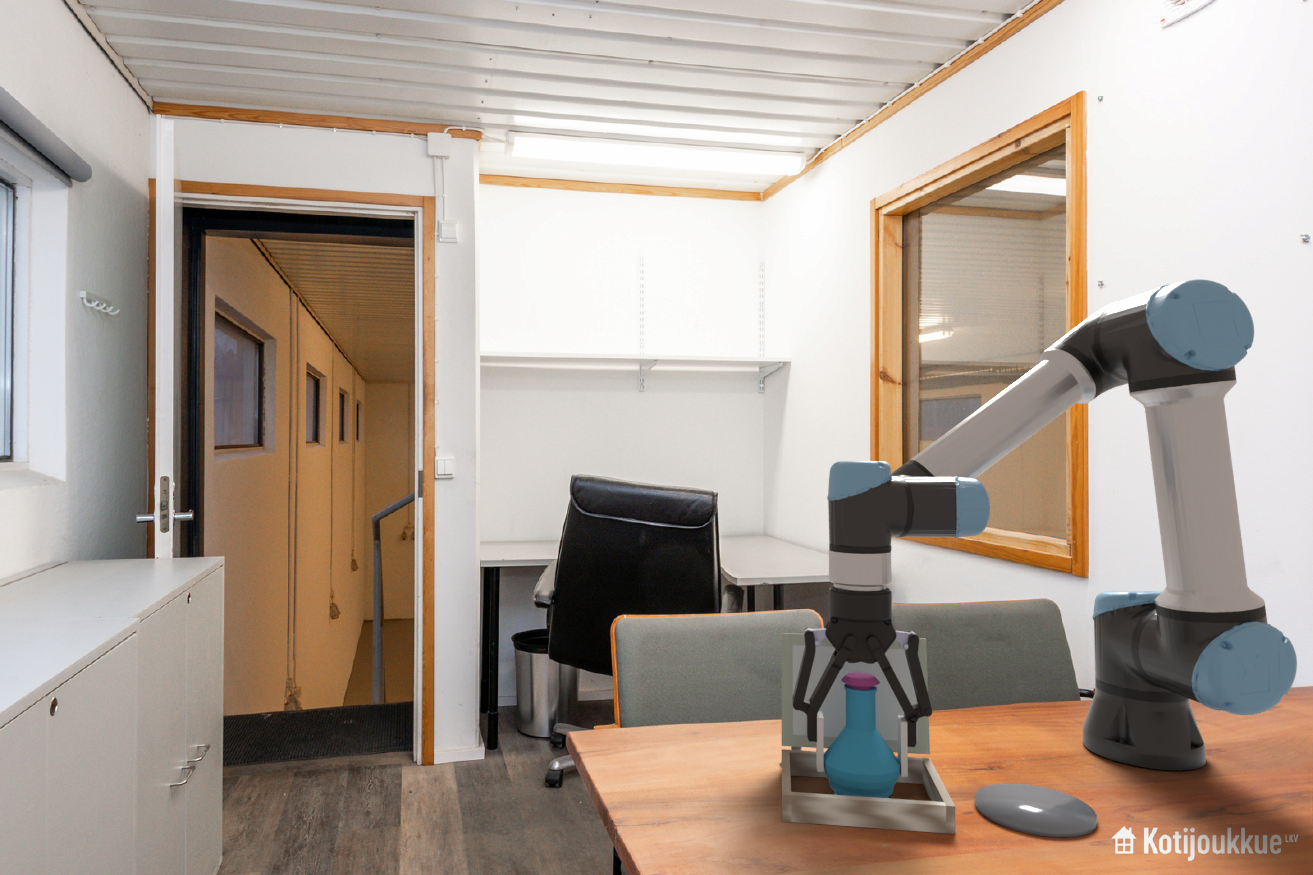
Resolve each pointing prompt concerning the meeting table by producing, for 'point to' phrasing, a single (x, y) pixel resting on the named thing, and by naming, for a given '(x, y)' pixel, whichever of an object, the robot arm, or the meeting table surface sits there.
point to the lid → (836, 697)
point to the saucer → (1035, 810)
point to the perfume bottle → (861, 746)
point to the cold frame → (868, 800)
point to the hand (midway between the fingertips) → (861, 770)
